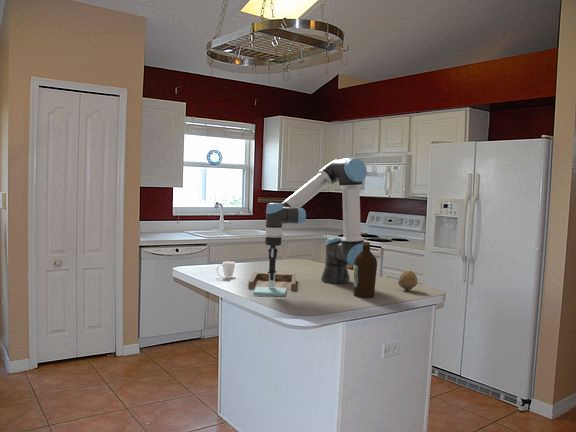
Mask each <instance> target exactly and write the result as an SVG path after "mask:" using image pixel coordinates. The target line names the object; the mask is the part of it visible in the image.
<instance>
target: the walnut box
mask: <svg viewBox="0 0 576 432" xmlns="http://www.w3.org/2000/svg"><path fill="white" fill-rule="evenodd" d="M296 283H297V274H293V273H275V288H286V291H294V292H295V291H296ZM256 287H269V273H268V272H253V274H252V275H251V276H250V279H249V280H248V287H247V289H250V290H251V289H252V290H255V288H256Z"/></svg>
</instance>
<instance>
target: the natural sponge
mask: <svg viewBox="0 0 576 432" xmlns="http://www.w3.org/2000/svg"><path fill="white" fill-rule="evenodd" d="M397 282H398V286H399V287H400V288H402V289H403V290H404V291H411V290H412V289H413V288H415V287H417V285H418V282H419V281H418V277H417V275H416V274H415V272H413V271H412V270H405V271H403V272H402V273H401V275H400V277H399V279H398V281H397Z"/></svg>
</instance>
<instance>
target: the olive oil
mask: <svg viewBox="0 0 576 432" xmlns="http://www.w3.org/2000/svg"><path fill="white" fill-rule="evenodd" d="M377 269H378V260H377V258H376V256H375V255H374V254H373V253H372V252H371V242H370V241H364V242H363V250H362V251H361V252H360V253H359V254H358V255H357V256H356V258H355V261H354V266H353V296H354V297H358V298H363V299H364V298H365V299H369V298H370V299H372V298H374V297H375V291H376V290H375V289H376V280H377V279H376V278H377V271H378V270H377Z"/></svg>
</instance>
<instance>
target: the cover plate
mask: <svg viewBox="0 0 576 432" xmlns="http://www.w3.org/2000/svg"><path fill="white" fill-rule="evenodd" d="M286 292H287V290H286V288H275V287H256V288H255V289H253V296H256V297H262V298H272V297H284V298H283V299H285V298H286Z"/></svg>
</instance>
